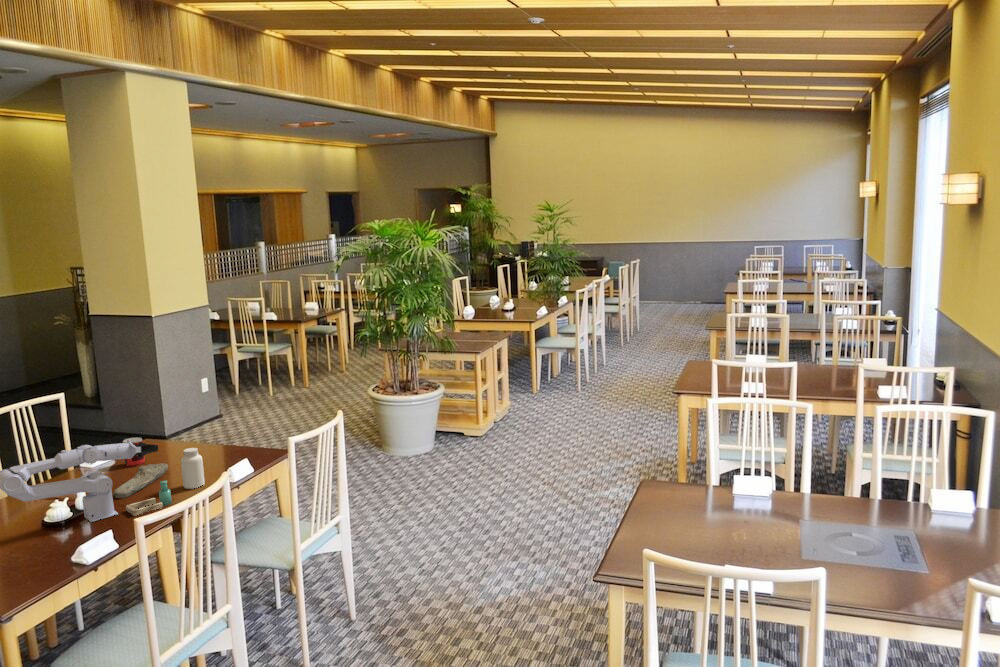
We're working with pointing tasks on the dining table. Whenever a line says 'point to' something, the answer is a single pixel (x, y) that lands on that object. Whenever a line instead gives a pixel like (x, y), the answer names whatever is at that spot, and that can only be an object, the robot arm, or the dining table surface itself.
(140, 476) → the grey rock slab
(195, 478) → the pill bottle
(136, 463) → the canned food
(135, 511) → the cradle
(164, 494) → the bottle
